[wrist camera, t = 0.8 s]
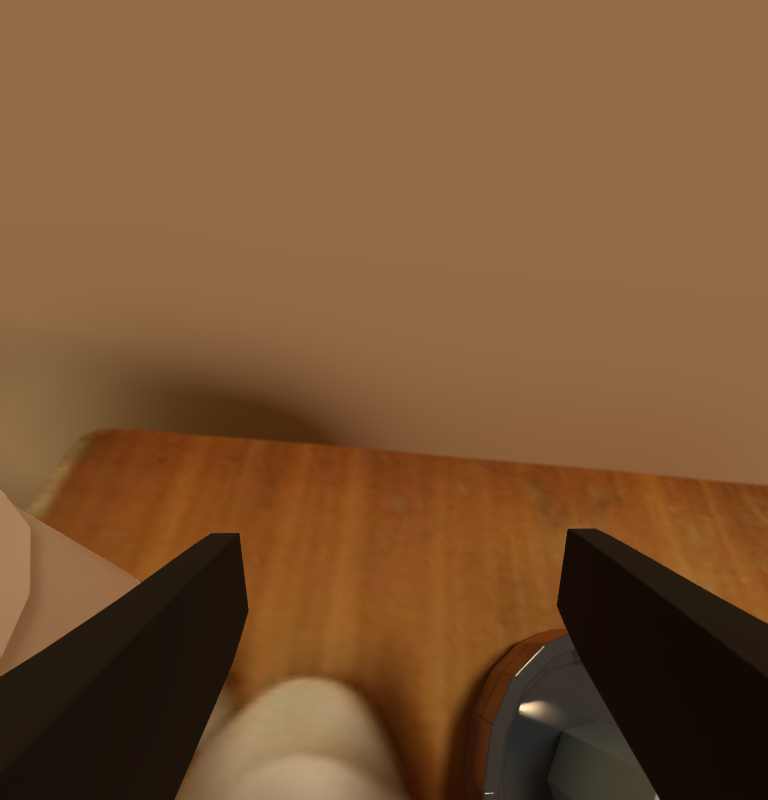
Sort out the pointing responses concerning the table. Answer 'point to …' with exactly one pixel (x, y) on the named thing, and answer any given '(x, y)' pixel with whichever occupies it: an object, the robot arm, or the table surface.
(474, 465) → the table surface
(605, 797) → the cup
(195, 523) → the table surface
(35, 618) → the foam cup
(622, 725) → the robot arm
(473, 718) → the bowl
